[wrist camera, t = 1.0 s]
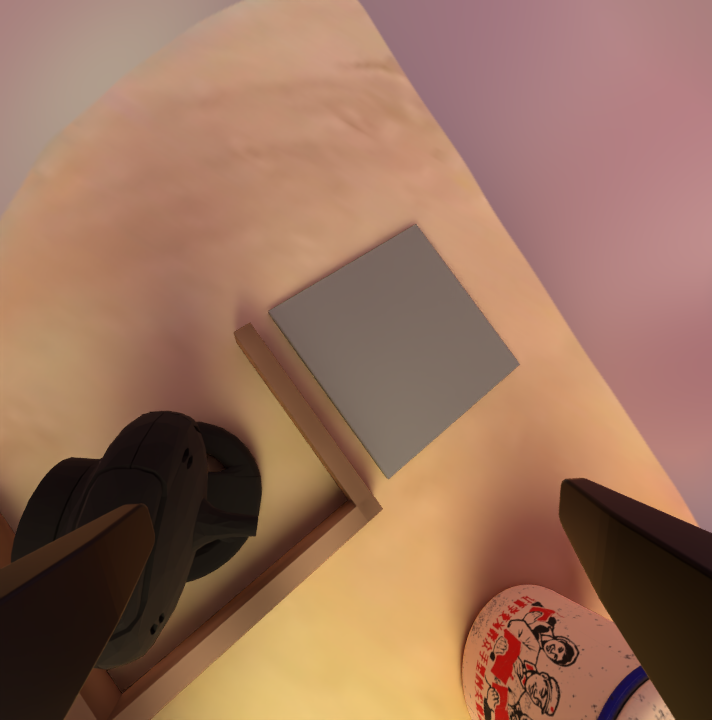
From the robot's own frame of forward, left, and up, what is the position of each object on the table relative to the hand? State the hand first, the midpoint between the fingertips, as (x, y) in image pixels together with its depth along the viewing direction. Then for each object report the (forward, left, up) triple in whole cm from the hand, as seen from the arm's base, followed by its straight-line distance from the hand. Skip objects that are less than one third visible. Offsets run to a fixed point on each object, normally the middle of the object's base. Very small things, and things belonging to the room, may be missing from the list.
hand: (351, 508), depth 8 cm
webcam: (-5, +2, -13) cm, 14 cm away
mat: (+10, +2, -13) cm, 16 cm away
